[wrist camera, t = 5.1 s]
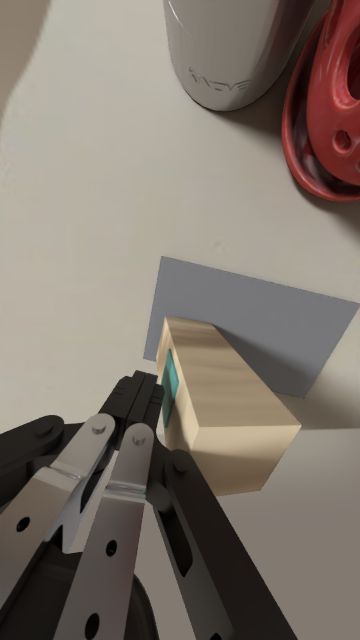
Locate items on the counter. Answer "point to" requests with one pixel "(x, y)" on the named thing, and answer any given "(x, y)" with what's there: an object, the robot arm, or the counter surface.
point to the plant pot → (326, 107)
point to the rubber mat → (254, 321)
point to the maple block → (219, 408)
